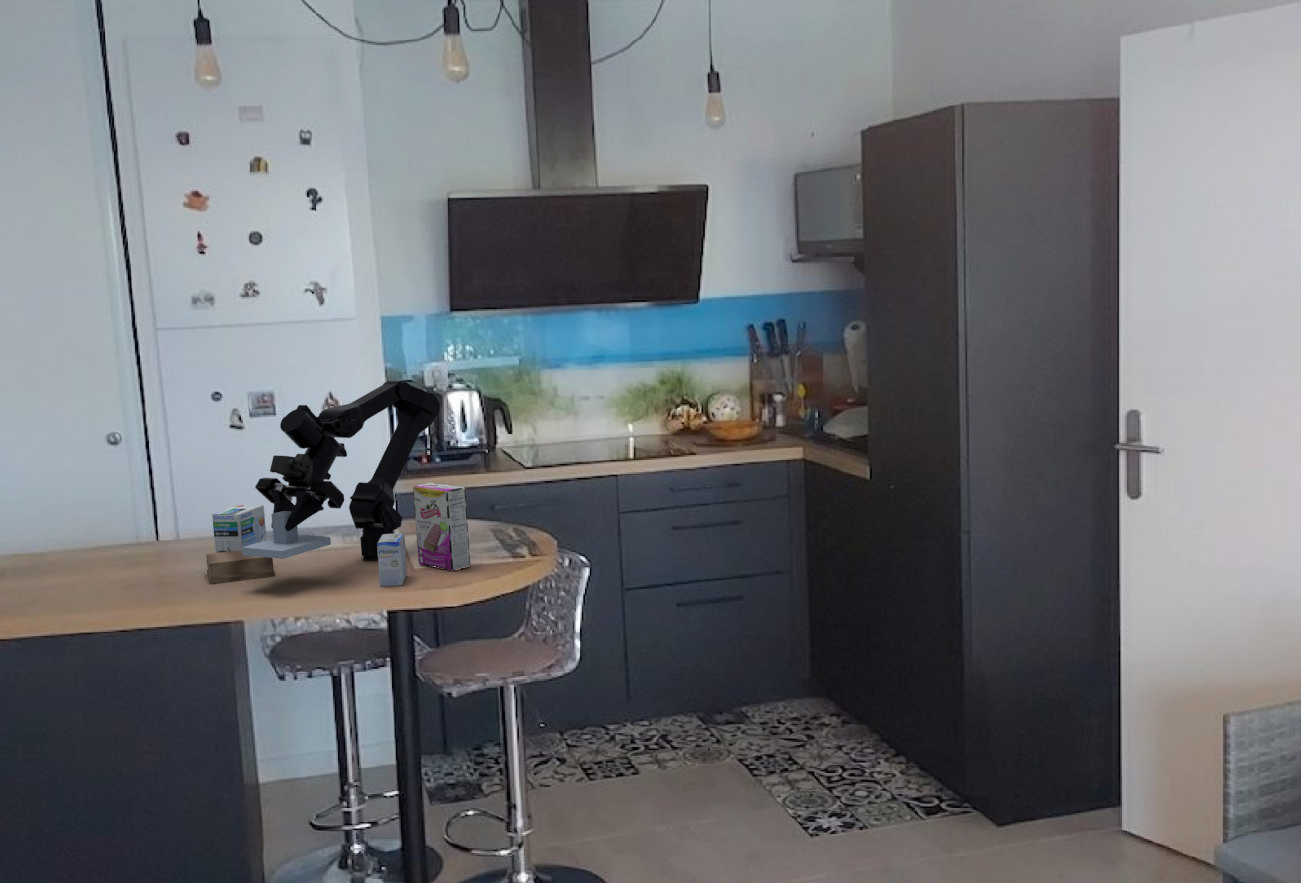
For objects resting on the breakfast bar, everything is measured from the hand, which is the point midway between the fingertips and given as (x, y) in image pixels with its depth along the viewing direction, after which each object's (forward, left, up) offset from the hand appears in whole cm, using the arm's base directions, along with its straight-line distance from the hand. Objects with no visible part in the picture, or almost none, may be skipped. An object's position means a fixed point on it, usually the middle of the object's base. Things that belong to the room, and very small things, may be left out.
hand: (279, 529), depth 245 cm
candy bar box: (-30, -9, -12) cm, 33 cm away
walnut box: (+11, -14, -11) cm, 21 cm away
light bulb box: (+14, -30, -12) cm, 35 cm away
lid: (-1, -1, -4) cm, 4 cm away
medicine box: (-21, +1, -12) cm, 24 cm away
